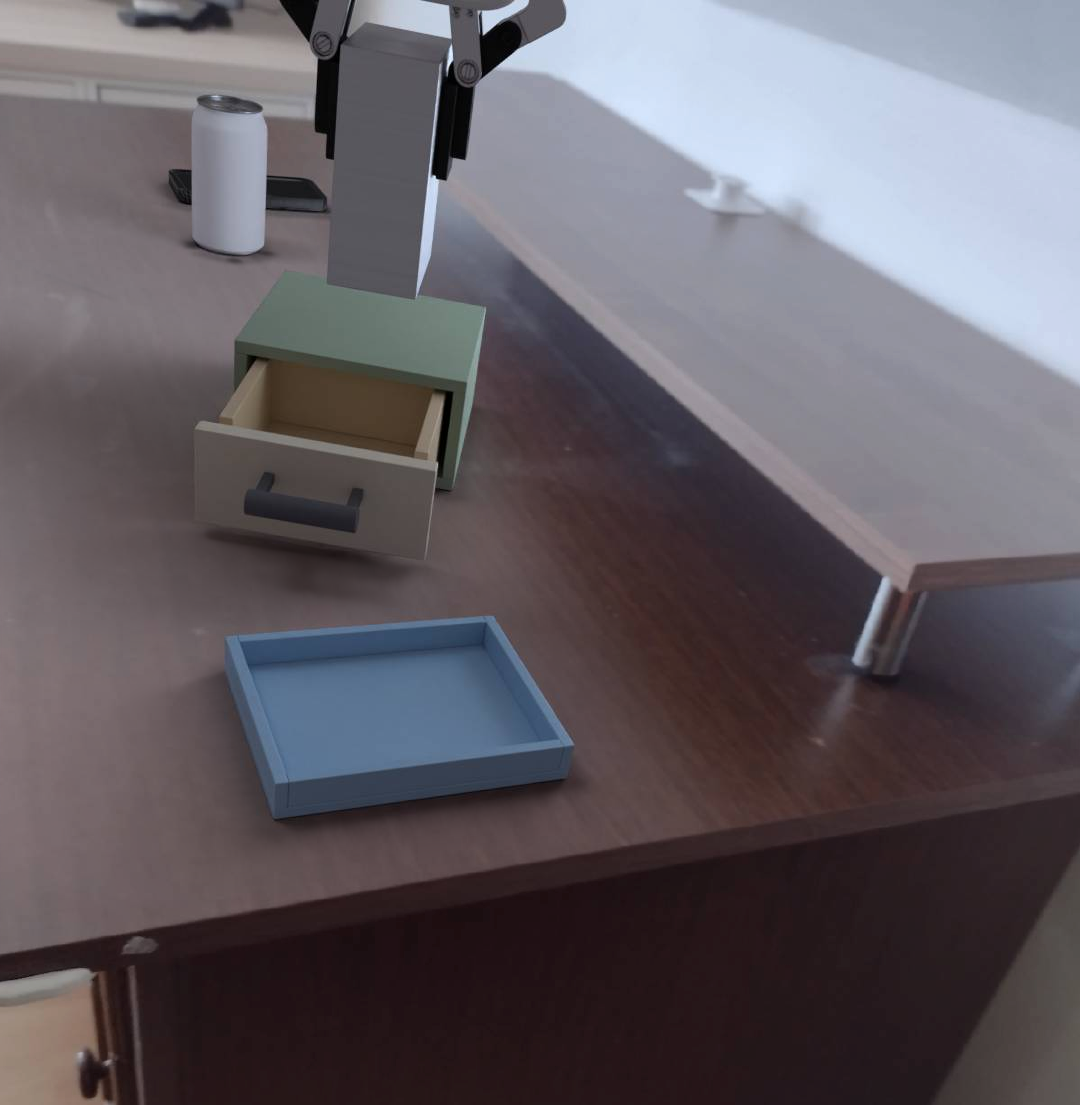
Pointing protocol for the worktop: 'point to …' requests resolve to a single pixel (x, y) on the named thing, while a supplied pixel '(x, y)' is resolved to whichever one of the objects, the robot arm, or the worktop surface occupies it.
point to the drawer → (323, 458)
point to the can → (228, 175)
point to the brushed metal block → (385, 159)
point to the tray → (390, 714)
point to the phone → (278, 191)
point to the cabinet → (372, 344)
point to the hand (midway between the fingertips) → (390, 159)
